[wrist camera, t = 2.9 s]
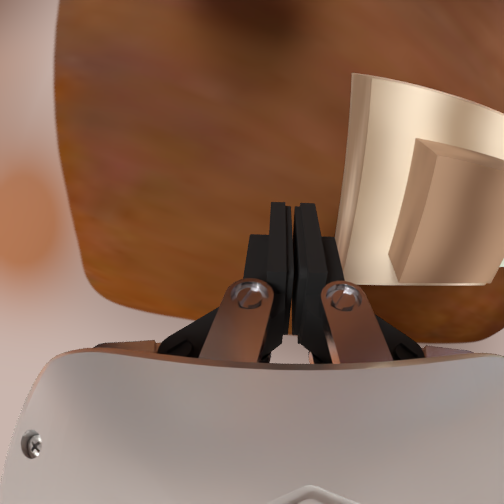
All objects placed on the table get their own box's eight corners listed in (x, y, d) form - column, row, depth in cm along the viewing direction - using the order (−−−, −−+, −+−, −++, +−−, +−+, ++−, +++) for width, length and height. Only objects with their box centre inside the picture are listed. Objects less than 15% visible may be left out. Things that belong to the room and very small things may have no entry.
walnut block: (510, 162, 11) (534, 181, 9) (475, 258, 15) (490, 282, 13) (415, 137, 11) (437, 155, 9) (387, 254, 16) (398, 282, 14)
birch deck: (506, 114, 12) (541, 134, 9) (465, 251, 19) (484, 285, 16) (351, 72, 13) (372, 78, 10) (333, 245, 20) (340, 284, 17)
